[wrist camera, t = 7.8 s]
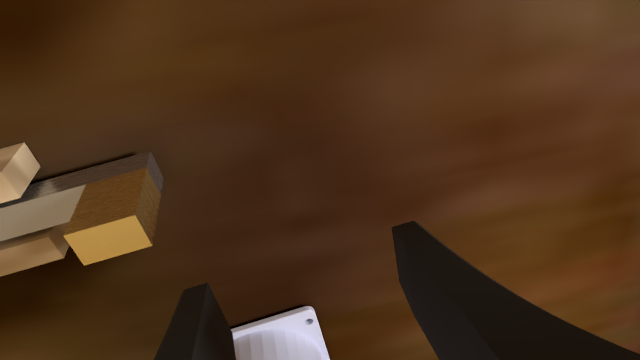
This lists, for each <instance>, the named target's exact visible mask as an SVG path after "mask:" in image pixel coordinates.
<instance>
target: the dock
mask: <svg viewBox="0 0 640 360" xmlns="http://www.w3.org/2000/svg"><path fill="white" fill-rule="evenodd" d="M39 168H40V165H39V164H38V162H37V161H36V159H35V158H34V156H33V155H32V153H31V152H30V150H29V149H28V147H27V146H26V144H25V143H20V144H16V145H13V146H9V147H5V148H2V149H0V203H4V202H7V201H11V200H15V199H18V198H21V196H22V194H23V193H24V191H25V190H26V188H27V187H28V185H29V184H30V182H31V180H32V179H33V177H34V176H35V174H36V173H37V171H38V170H39ZM68 224H69V222H67V223H63V224H60V225H56V226H53V227H49V228H46V229H42V230H39V231H35V232H32V233H28V234H25V235H21V236H18V237H14V238H11V239H7V240H4V241H0V277H1V276H4V275H8V274H11V273H15V272H18V271H21V270H25V269H28V268H32V267H35V266H39V265H42V264H45V263H49V262H52V261H56V260H59V259H63V258H64V257H65V255H66V252H67V250H68V247H69V243H68V242H67V240H66V239H65V238H64V236H63V235H64V233H65V231H66V228H67V226H68Z"/></svg>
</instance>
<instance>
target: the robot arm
mask: <svg viewBox="0 0 640 360" xmlns="http://www.w3.org/2000/svg"><path fill="white" fill-rule="evenodd" d="M392 233H393V240H394V247H395V254H396V261H397V268H398V275H399V281H400V284H401V286H402V288H403V291H404V293H405V296H406V298H407V300H408V303H409V305H410V307H411V309H412V312H413V314H414V316H415V318H416V319H417V321H418V323H419V325H420V327H421V328H422V330H423V332H424V334H425V335H426V337H427V339H428V341H429V342H430V344H431V346H432V348H433V349H434V351H435V353H436V355H437V356H438V358H439V360H640V354H638V353H635V352H633V351H630V350H628V349H625V348H623V347H620V346H618V345H616V344H614V343H612V342H609V341H607V340H605V339H603V338H600V337H598V336H596V335H594V334H592V333H589V332H587V331H585V330H583V329H580V328H578V327H576V326H574V325H572V324H570V323H568V322H566V321H564V320H562V319H560V318H558V317H556V316H554V315H552V314H550V313H548V312H547V311H545V310H543V309H541V308H539V307H537V306H536V305H534V304H532V303H530V302H529V301H527V300H525V299H523V298H522V297H520V296H518V295H517V294H515V293H513V292H512V291H510V290H508V289H507V288H505V287H504V286H502V285H501V284H499V283H497V282H496V281H494V280H493V279H491V278H490V277H488V276H487V275H485V274H484V273H482V272H481V271H479V270H478V269H477V268H475V267H474V266H472V265H471V264H470V263H468V262H467V261H465V260H464V259H463V258H461V257H460V256H459V255H457V254H456V253H455V252H453V251H452V250H451V249H449V248H448V247H447V246H445V245H444V244H443V243H442V242H440V241H439V240H438V239H437V238H435V237H434V236H433V235H432V234H430V233H429V232H428V231H427V230H426V229H424V228H423V227H422V226H421V225H420V224H419V223H417V222H415V221H411V222H408V223H404V224H401V225H398V226H394V227H392ZM307 319H309V320H307ZM154 360H330V358H329V355H328V352H327V349H326V346H325V343H324V339H323V336H322V333H321V330H320V327H319V323H318V320H317V317H316V314H315V311H314V309H313V307H311V306H304V307H301V308H298V309H295V310H291V311H288V312H285V313H282V314H278V315H275V316H272V317H269V318H266V319H262V320H259V321H256V322H253V323H249V324H246V325H243V326H240V327H236V328H233V329H230V327H229V325H228V323H227V321H226V319H225V317H224V315H223V313H222V311H221V309H220V307H219V305H218V303H217V301H216V299H215V297H214V295H213V293H212V290H211V288H210V286H209V284H208V283H205V284H202V285H198V286H195V287H192V288H188V289H185V290H184V291H183V293H182V294H181V297H180V300H179V302H178V305H177V307H176V310H175V312H174V315H173V317H172V319H171V322H170V324H169V327H168V329H167V331H166V334H165V336H164V339H163V341H162V343H161V345H160V347H159V350H158V352H157V354H156V356H155V358H154Z"/></svg>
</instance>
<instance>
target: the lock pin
mask: <svg viewBox="0 0 640 360" xmlns="http://www.w3.org/2000/svg"><path fill="white" fill-rule="evenodd" d="M163 179H164V178H163V176H162V174H161V172H160V170H159V167H158V165H157V163H156V161H155V159H154V157H153V155H152V153H151V151H149V152H145V153H141V154H138V155H134V156H131V157H127V158H124V159H120V160H116V161H113V162H109V163H106V164H102V165H98V166H95V167H91V168H88V169H84V170H80V171H77V172H73V173H70V174H66V175H62V176H59V177H55V178H52V179H48V180H44V181H41V182H37V183H34V184H30V185H28V187H27V188H26V190H25V191H24V193H23V194H22V196H21V198H18V199H15V200H11V201H7V202H4V203H0V241H4V240H7V239H11V238H14V237H18V236H21V235H25V234H28V233H32V232H35V231H39V230H42V229H46V228H49V227H53V226H56V225H60V224H63V223H67V222H69V224H68V226H67V228H66V231H65V233H64V235H63V236H64V238H65V239H66V240H67V242H68V243H69V245H70V246H71V248H72V249H73V250H74V252H75V253H76V255H77V256H78V258H79V259H80V260H81V262H82V263H83V265H84V266H85V265H88V264H91V263H95V262H98V261H102V260H105V259H109V258H112V257H115V256H119V255H122V254H126V253H129V252H132V251H136V250H139V249H143V248H146V247H150V246H152V245H153V239H154V233H155V227H156V221H157V215H158V209H159V203H160V197H161V191H162V185H163Z"/></svg>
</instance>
